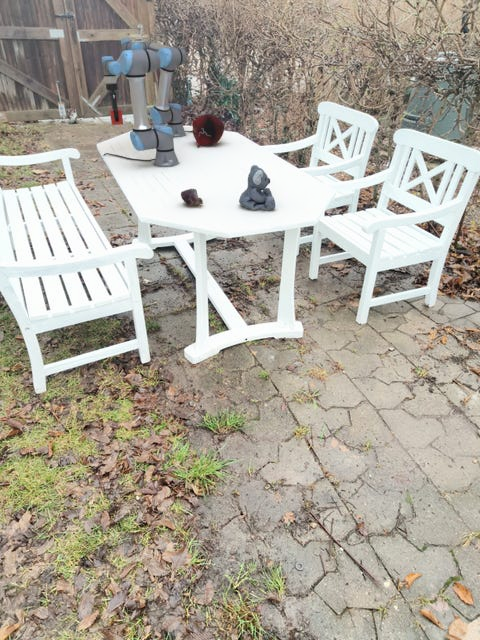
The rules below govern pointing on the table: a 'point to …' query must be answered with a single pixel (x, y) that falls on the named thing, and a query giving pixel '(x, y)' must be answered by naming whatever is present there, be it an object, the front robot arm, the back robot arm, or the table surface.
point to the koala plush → (257, 191)
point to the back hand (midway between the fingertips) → (132, 92)
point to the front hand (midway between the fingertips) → (116, 120)
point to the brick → (114, 117)
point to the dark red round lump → (207, 129)
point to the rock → (191, 197)
